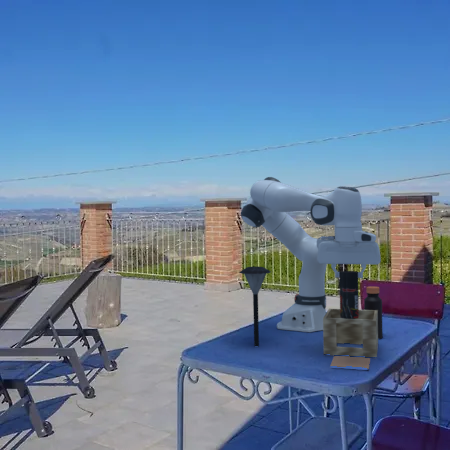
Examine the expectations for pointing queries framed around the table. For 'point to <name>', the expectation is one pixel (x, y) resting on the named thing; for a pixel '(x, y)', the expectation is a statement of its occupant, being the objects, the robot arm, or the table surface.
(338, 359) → the tile
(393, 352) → the table surface
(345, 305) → the deodorant
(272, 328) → the table surface
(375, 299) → the bottle
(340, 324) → the crate
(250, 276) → the solar garden light
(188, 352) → the table surface
